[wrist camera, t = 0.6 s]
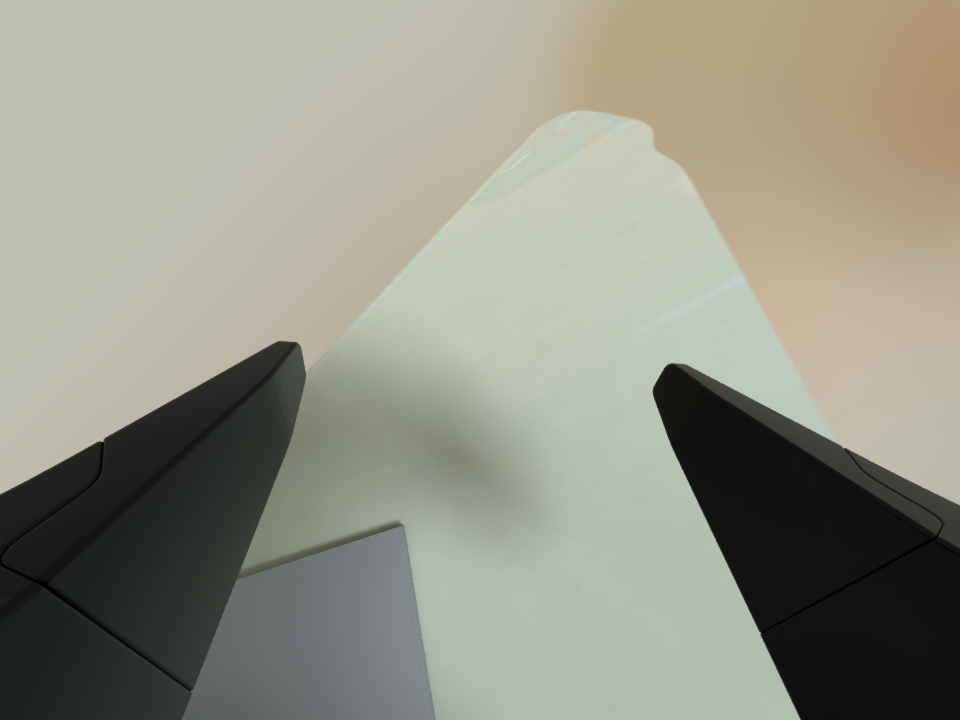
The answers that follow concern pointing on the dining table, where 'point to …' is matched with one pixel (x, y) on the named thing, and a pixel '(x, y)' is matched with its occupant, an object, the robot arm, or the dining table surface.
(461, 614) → the dining table surface
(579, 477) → the dining table surface
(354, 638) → the mat
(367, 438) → the dining table surface
